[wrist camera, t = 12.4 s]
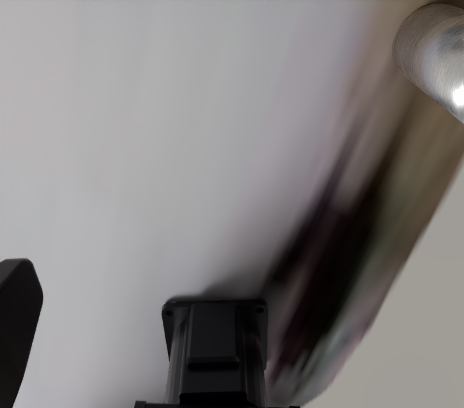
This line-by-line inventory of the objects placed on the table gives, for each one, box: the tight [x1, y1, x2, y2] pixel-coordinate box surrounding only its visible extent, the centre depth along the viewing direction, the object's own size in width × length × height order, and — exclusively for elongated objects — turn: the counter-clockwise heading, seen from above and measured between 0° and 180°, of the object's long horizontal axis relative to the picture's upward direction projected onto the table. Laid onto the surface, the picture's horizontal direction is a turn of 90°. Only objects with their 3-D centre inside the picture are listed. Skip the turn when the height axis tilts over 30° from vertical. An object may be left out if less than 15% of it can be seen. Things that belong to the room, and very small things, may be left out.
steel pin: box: [392, 3, 464, 124], centre depth 16 cm, size 3×3×6 cm
